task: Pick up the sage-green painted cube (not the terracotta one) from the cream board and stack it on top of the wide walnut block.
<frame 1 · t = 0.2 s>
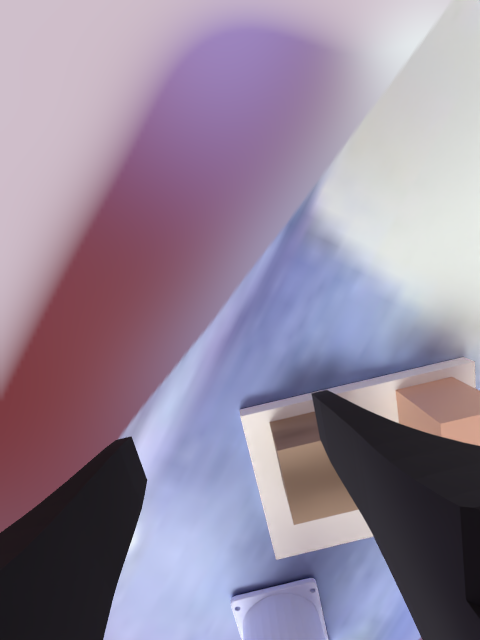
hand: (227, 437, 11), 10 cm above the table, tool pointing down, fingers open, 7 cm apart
terracotta block: (425, 409, 21), point 1 cm above the table, touching cream board
cream board: (362, 458, 23), on the table
walnut block: (314, 446, 21), point 1 cm above the table, touching cream board
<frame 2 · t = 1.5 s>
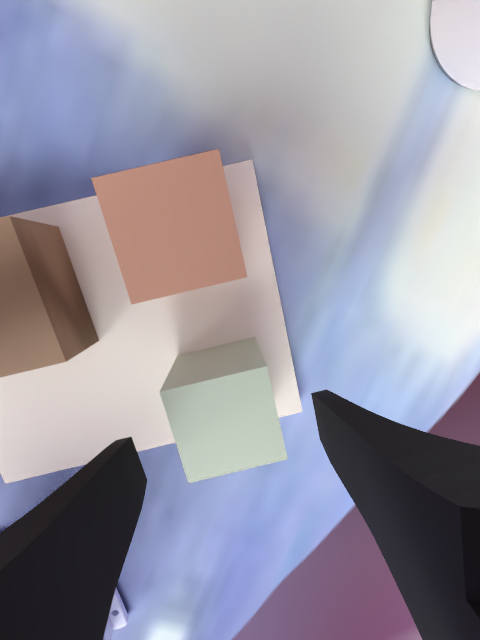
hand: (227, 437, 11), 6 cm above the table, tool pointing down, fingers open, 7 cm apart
terracotta block: (188, 240, 14), point 1 cm above the table, touching cream board
cream board: (123, 332, 16), on the table
sage block: (225, 382, 16), point 1 cm above the table, touching cream board
walnut block: (22, 299, 14), point 1 cm above the table, touching cream board
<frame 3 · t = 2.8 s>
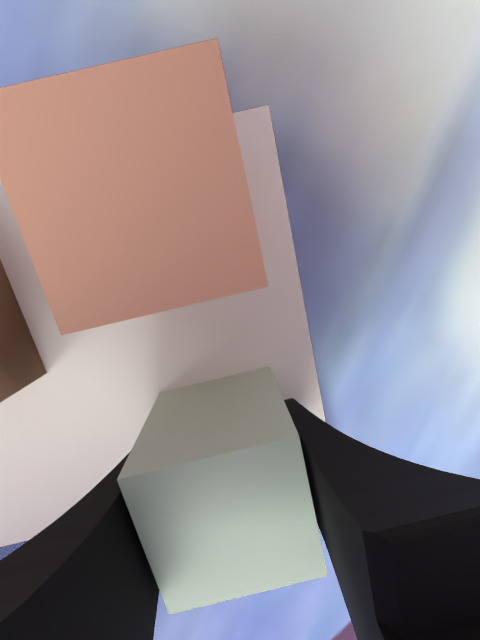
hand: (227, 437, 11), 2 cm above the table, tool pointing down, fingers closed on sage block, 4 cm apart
terracotta block: (173, 227, 10), point 1 cm above the table, touching cream board
cream board: (86, 357, 11), on the table
sage block: (227, 428, 11), point 1 cm above the table, touching cream board, gripper
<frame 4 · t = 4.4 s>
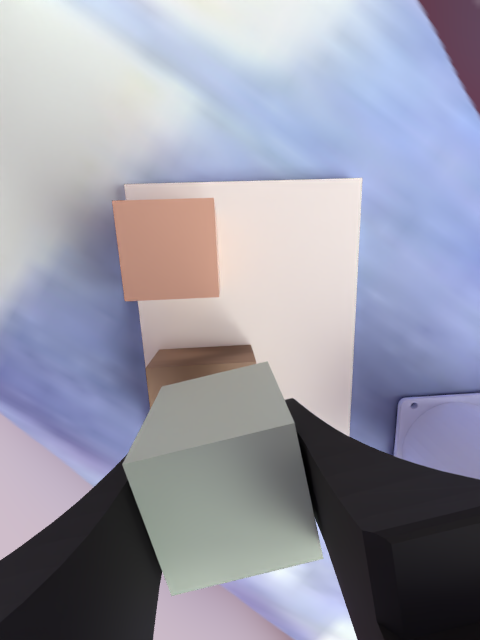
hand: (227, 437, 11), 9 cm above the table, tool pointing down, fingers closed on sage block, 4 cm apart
terracotta block: (182, 253, 17), point 1 cm above the table, touching cream board
cream board: (248, 326, 19), on the table
sage block: (227, 421, 12), point 8 cm above the table, touching gripper
walnut block: (208, 389, 19), point 1 cm above the table, touching cream board
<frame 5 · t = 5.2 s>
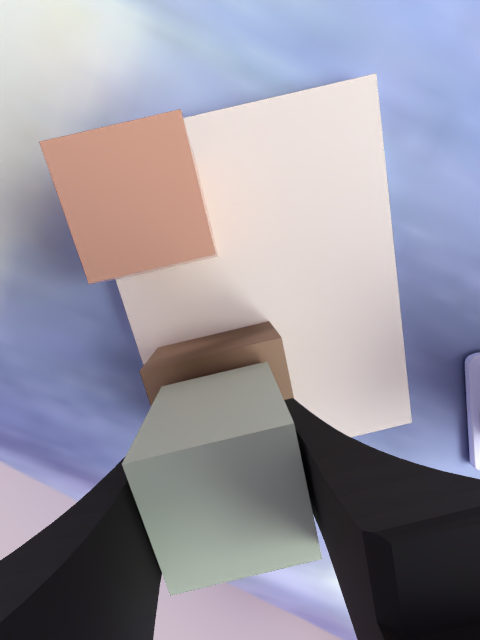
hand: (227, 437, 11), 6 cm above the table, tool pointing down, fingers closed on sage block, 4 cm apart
terracotta block: (162, 220, 13), point 1 cm above the table, touching cream board
cream board: (262, 300, 15), on the table
sage block: (227, 421, 12), point 5 cm above the table, touching gripper
walnut block: (226, 385, 15), point 1 cm above the table, touching cream board
when the fingers open (5 cm above the table, at t = 6.0 s): sage block stays where it is, resting on walnut block.
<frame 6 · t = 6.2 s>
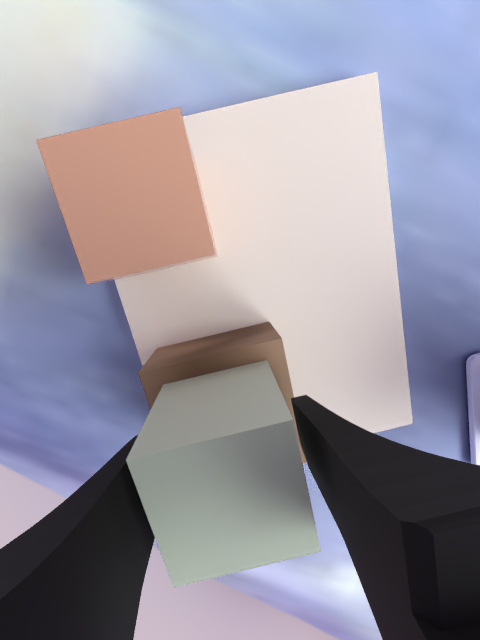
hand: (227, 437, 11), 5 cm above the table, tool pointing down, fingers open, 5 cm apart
terracotta block: (161, 220, 13), point 1 cm above the table, touching cream board
cream board: (262, 300, 15), on the table
sage block: (227, 418, 12), point 4 cm above the table, touching walnut block
walnut block: (226, 386, 15), point 1 cm above the table, touching cream board, sage block
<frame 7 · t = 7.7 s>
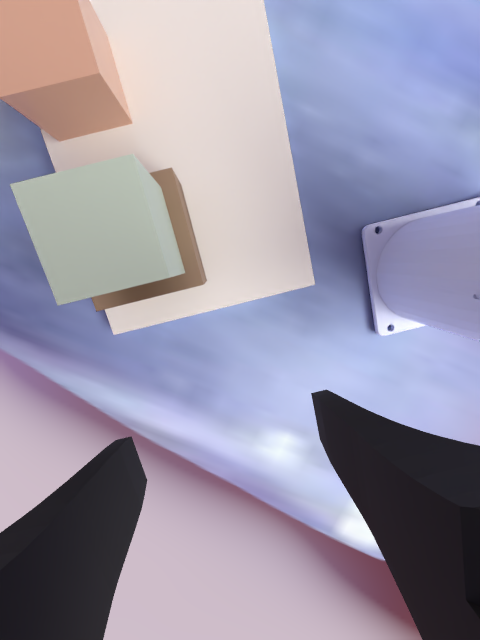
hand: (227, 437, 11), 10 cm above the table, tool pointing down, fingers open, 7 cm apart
terracotta block: (82, 89, 16), point 1 cm above the table, touching cream board
cream board: (179, 172, 18), on the table
sage block: (132, 241, 14), point 4 cm above the table, touching walnut block
walnut block: (148, 246, 17), point 1 cm above the table, touching cream board, sage block
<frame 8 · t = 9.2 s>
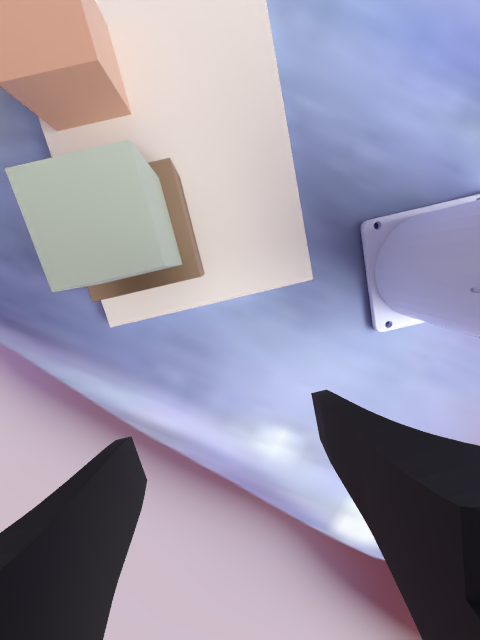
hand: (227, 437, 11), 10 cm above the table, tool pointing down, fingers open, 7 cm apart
terracotta block: (81, 79, 15), point 1 cm above the table, touching cream board
cream board: (178, 165, 18), on the table
sage block: (129, 232, 14), point 4 cm above the table, touching walnut block
walnut block: (146, 238, 17), point 1 cm above the table, touching cream board, sage block
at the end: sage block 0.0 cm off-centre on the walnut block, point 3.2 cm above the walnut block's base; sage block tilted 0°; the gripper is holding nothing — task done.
